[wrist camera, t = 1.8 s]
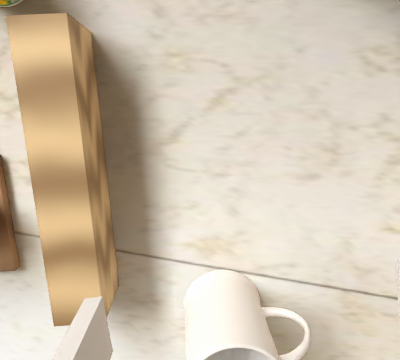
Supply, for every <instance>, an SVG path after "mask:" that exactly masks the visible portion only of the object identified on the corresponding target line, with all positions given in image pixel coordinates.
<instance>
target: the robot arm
mask: <svg viewBox="0 0 400 360" xmlns="http://www.w3.org/2000/svg"><path fill="white" fill-rule="evenodd" d="M398 316H399V317H400V260H398ZM112 352H113V349H112V344H111V339H110V334H109V329H108V324H107V319H106V314H105V309H104V303H103V298H102V296H101V297H93V298H85V299H84V301H83V303H82V305H81V306H80V308H79V310H78V312H77V314H76V316H75V317H74V319H73V321H72V323H71V325H70V327H69V328H68V330H67V332H66V334H65V336H64V337H63V339H62V341H61V343H60V345H59V347H58V348H57V350H56V352H55V354H54V356H53V358H52V359H51V360H110V358H111V355H112Z"/></svg>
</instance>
